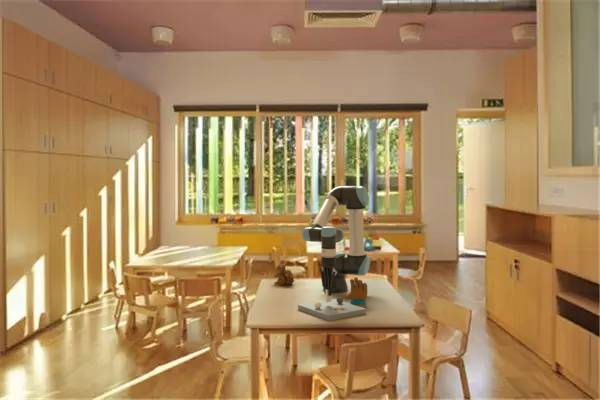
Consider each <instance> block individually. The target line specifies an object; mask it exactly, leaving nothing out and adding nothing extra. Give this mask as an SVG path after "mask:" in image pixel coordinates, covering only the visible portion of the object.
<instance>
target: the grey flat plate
mask: <svg viewBox="0 0 600 400" xmlns="http://www.w3.org/2000/svg"><path fill="white" fill-rule="evenodd" d="M316 302H320V303H321V307H320V308H319V309H317V308H316V307H315V303H316ZM338 307H341V308H342V310H336V308H338ZM297 309H298V310H299V311H300V312H301V311H302V312H304V313H306V314H309V315H312V316H315V317H318V318H320V319H322V320H326V321H328V322H330V321H334V320H335V321H336V320H339V319H345V318H351V317H357V316H360V315H361V316H362V315H366V314H367V308H365V307H362V306H358V305H357V304H352V303H349V302H345V301H343V302H342V303H341V304H339V303H338V302H337V298H331V302H326V299H324V300H320V301H319V300H318V301H313V302H307V303H300V304H298V305H297Z"/></svg>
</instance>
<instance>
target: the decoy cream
mask: <svg viewBox="0 0 600 400" xmlns="http://www.w3.org/2000/svg"><path fill="white" fill-rule="evenodd" d="M315 302H316V303H315V307H316V308H317V309H319V308H320V307H321V303H320V302H318V301H315Z"/></svg>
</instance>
